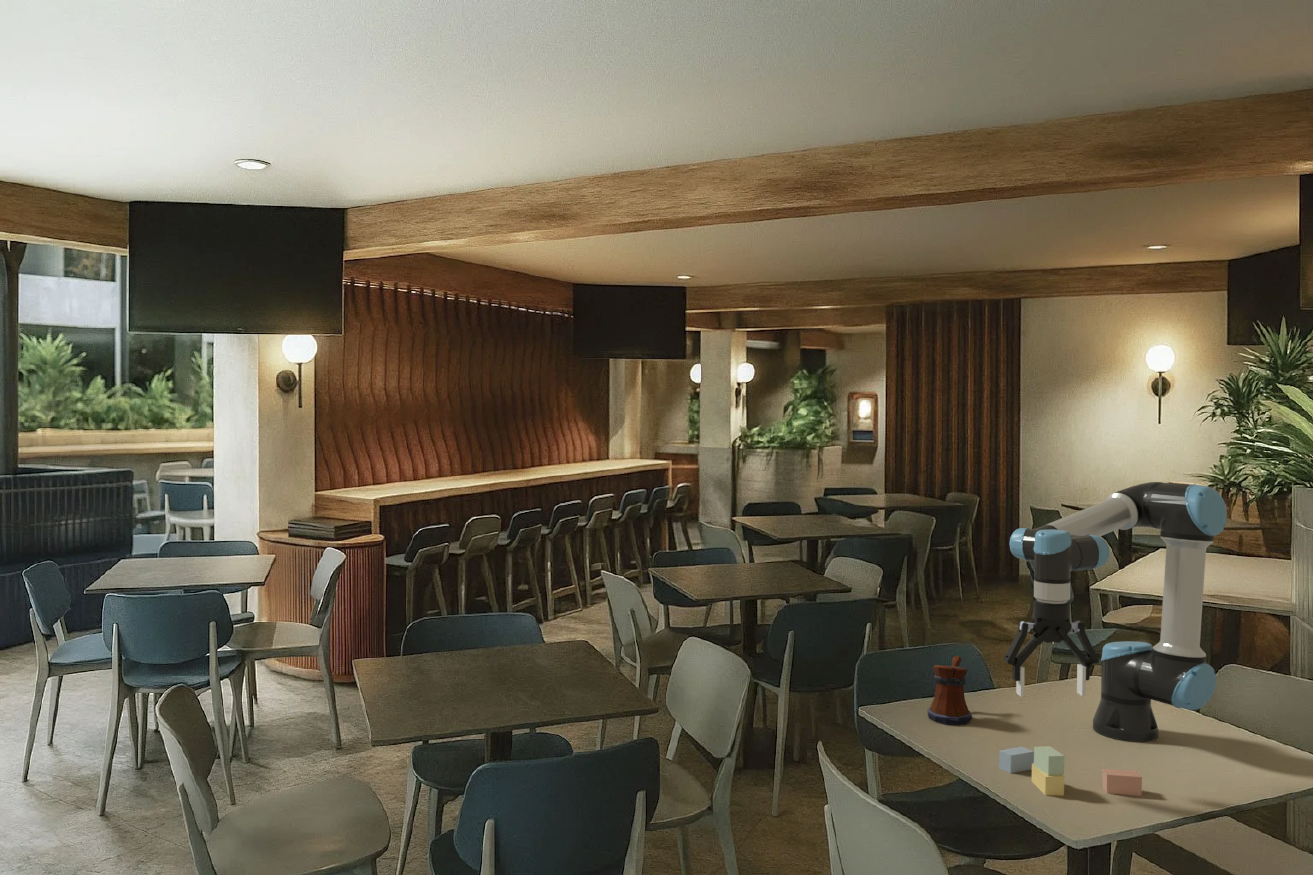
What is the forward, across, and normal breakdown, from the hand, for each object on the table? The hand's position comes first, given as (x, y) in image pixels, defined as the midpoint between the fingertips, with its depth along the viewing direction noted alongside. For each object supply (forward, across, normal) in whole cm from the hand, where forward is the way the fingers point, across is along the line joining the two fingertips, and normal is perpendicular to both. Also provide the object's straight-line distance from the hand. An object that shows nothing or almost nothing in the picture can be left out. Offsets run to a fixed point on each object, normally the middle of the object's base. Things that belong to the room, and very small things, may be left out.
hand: (1050, 694), depth 222 cm
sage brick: (+15, +2, +5) cm, 16 cm away
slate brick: (+19, +5, -7) cm, 21 cm away
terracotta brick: (+19, -13, +6) cm, 24 cm away
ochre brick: (+19, +2, +5) cm, 20 cm away
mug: (+20, +8, -46) cm, 51 cm away
